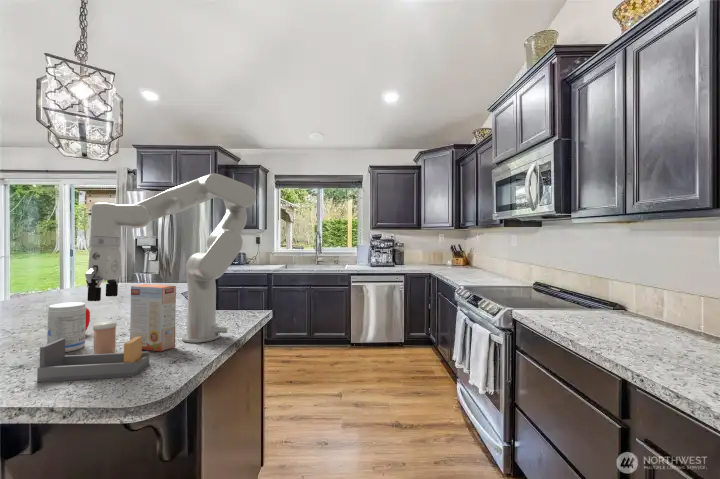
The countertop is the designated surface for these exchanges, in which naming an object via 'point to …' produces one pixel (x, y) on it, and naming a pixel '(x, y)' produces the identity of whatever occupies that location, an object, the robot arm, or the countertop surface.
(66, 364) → the pusher lane
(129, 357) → the lane pusher
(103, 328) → the terracotta jar
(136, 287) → the cracker box
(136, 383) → the countertop surface
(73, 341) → the supplement tub
